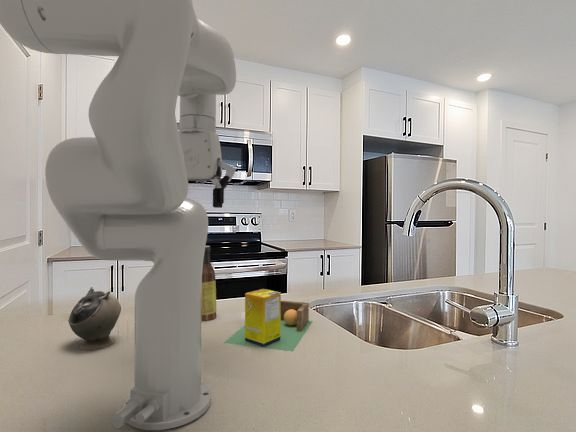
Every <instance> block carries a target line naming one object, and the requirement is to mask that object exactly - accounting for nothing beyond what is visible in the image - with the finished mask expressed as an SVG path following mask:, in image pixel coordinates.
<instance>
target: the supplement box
mask: <svg viewBox="0 0 576 432" xmlns="http://www.w3.org/2000/svg"><path fill="white" fill-rule="evenodd" d="M281 293H282V292H279V291H275V290H271V289H267V288H266V289H265V288H262V289H261V288H260V289H258V290H253V291H249V292H246V293H244V306H245V307H244V325H245V341H246V342H250V343H252V344H255V345H258V346H262V347H265V346H267V345H269V344H271V343H273V342H276V341H278V340H280V333H281V301H282V300H281V298H282V297H281V296H282V295H281ZM262 347H261V348H262Z"/></svg>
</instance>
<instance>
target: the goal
mask: <svg viewBox="0 0 576 432" xmlns="http://www.w3.org/2000/svg"><path fill="white" fill-rule="evenodd" d="M309 306H310V303H309V302H304V301H303V302H300V301H289V300H288V301H287V300H281V320H282V321H284V314H285V312H286V311H288V310H290V309H293V310H295V311H297V331H299V332H302V330H303V329H304V327H305V326H306V324H307V323H308V321H309V312H310V311H309Z"/></svg>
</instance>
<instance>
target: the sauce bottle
mask: <svg viewBox="0 0 576 432" xmlns="http://www.w3.org/2000/svg"><path fill="white" fill-rule="evenodd" d="M215 273H216V272H215V270H214V268H213V266H212V263H211V245H206V246H205V252H204V259H203V269H202V301H201V302H202V308H201V322H206V321H212V320H215V319H216V317H217V288H216V287H217V286H216V274H215Z"/></svg>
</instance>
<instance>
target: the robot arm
mask: <svg viewBox="0 0 576 432" xmlns="http://www.w3.org/2000/svg"><path fill="white" fill-rule="evenodd" d="M0 25H1V26H2V28H3V29H4V31H5V32H6V33H7V34H8V35H9V36H10V37H11V38H12V39H13V40H14V41H16V42H17V43H19V44H20V45H22V46H24V47H26V48H28V49H30V50H32V51H36V52H39V53H45V54H53V55H75V56H76V55H78V56H79V55H80V56H101V57H117V59H116V61H115V62H114V65H113V67H112V68H111V69H110V71H109V73H107V74H106V76H105V77H104V78H103V80H102V81H101V83H100V84H99V86H98V87H97V88H96V91H95V92H94V95H93V97H92V99H91V102H90V104H89V108H88V119H89V120H88V121H89V124H90V127H91V130H92V132H93V135H94V136H95V137H93V136H92V137H91V136H90V137H89V136H86V137H85V136H84V137H83V136H82V137H73V138H66V139H65V140H62V141H60V142H58V143H57V144H56V145H55V146H54V147H53V148H52V149H51V150H50V152H49V153H48V156H47V160H46V162H45V169H44V171H45V184H46V188H47V191H48V195H49V198H50V200H51V202H52V204H53V206H54V208H55V209H56V210H57V213H58V214H59V215H60V217H61V218H62V220H63V221H64V222H65V224H66V225H67V226H68V228H69V229H70V231H71V232H72V234H73V235H74V236H75V238H76V239H77V241H78V242H79V244H81V246H82V247H83V249H84V250H85V251H86V252H87V254H89V255H90V256H92V257H93V258H95V259H98V260H102V261H116V262H117V261H120V262H121V261H123V262H124V261H135V262H136V261H140V262H141V261H144V262H152V263H153V266H152V268H151V269H150V270H149V271H148V272H147V273H146V274H145V275H144V277H142V278H141V281H140V282H139V283H138V285H137V288H136V289H135V294H134V370H133V371H134V373H133V375H134V380H133V381H134V386H133V387H132V388H130V394H129V396H128V397H127V398H126V399H125V401H124V402H123V405H122V407H120V408H119V409H118V410H116V411H115V412H114V413H113V414H111V416H110V422H111V425H112V426H113V427H114V428H116V429H120V428H122V427H123V426H124V425H126V424H128V425H129V426H131V427H133V428H135V429H140V430H145V431H163V430H165V431H166V430H169V429H170V430H171V429H174V428H178V427H181V426H185V425H187V424H189V423H191V422H193V421H195V420H196V419H198V418H200V417H201V416H202V415H204V414H205V412H206V411H207V410H208V409H209V408H210V405H211V402H212V392H211V390H210V387H209V386H207V384H205V383H204V382H202V321H201V308H202V302H201V301H202V269H203V259H204V252H205V246H207V245H206V244H207V240H208V232H209V216H208V214H207V213H208V212H207V211H206V210H207V209H205V207H204V206H203V205H202V204H201V203H199V202H198V201H196V200H193V199H191V198H187V197H188V192H189V182H198V181H199V182H202V181H207V182H208V181H211V183H212V184H213V186H214V188H213V189H212V208H213V209H214V208H217V209H219V208H223V204H224V203H225V201H224V200H225V197H224V196H225V189H226V188H227V186H228V185H229V184H230V183H231V182H232V179H233V177H234V175H235V173H236V172H237V171H236V170H237V168H236V167H233V166H232V165H230V164H228V163H226V162H225V161H223V160H222V150H221V148H222V147H221V143H220V142H221V141H220V137H219V135H218V134H217V132H216V130H217V126H216V125H217V95H218V96H219V95H220V96H223V95H228V94H230V93H231V92H233V90H234V88H236V87H235V86H236V82H237V68H236V62H235V57H234V56H235V55H234V51H233V48H232V46H231V44H230V42H229V41H228V39H227V38H226V37H225V36H224V35H223V34H222V33H220V32H219V31H217V30H216V29H214V28H213V27H211V26H210V25H208V24H207V23H206V22H204V21H202V20H201V19H199V18H197V15H196V11H195V9H194V6H193V0H0ZM178 97H179V120H178V121H179V123H177V115H176V111H177V101H178ZM223 169H224V171H225V175H224V176H223V177H222V175H223V174H222V173H223Z"/></svg>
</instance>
